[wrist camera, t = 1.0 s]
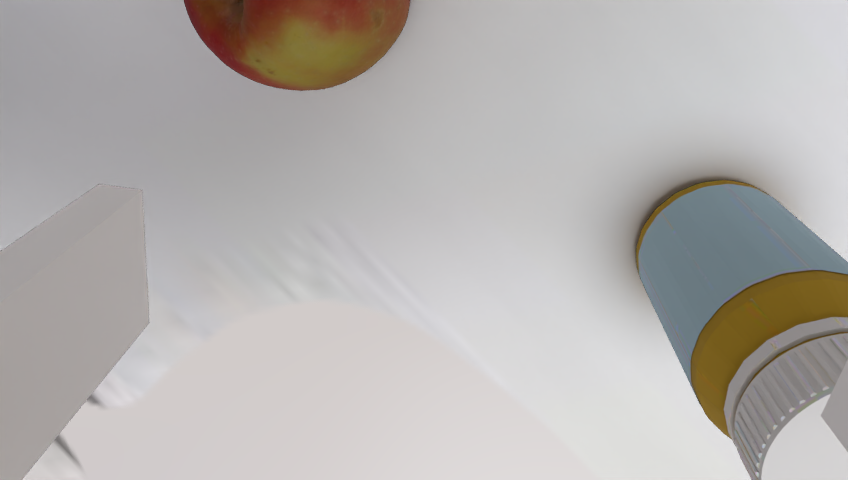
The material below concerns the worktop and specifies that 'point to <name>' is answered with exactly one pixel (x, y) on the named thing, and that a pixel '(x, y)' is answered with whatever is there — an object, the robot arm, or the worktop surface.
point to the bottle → (752, 322)
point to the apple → (299, 37)
